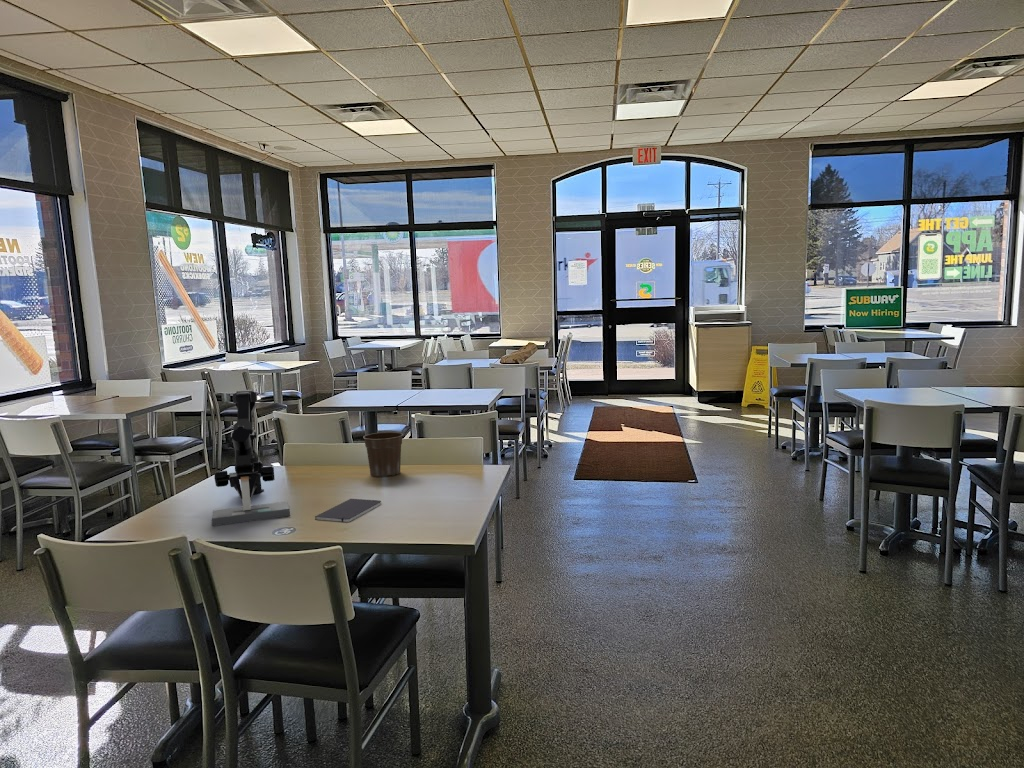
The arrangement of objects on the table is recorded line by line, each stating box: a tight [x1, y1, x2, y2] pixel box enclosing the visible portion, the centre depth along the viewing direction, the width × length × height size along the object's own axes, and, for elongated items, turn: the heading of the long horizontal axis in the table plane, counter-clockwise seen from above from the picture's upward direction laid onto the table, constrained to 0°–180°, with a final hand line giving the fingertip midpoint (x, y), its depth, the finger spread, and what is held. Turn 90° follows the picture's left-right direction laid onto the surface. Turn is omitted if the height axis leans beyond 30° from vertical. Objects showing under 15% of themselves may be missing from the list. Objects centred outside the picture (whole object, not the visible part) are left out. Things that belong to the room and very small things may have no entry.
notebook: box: [314, 498, 382, 523], centre depth 236 cm, size 13×2×21 cm
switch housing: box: [211, 500, 291, 527], centre depth 234 cm, size 24×10×2 cm, turn 110°
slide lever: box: [240, 476, 252, 511], centre depth 233 cm, size 2×3×11 cm
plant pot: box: [363, 431, 404, 478], centre depth 286 cm, size 16×16×16 cm
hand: (246, 497), depth 232 cm, fingers closed on slide lever, 2 cm apart
